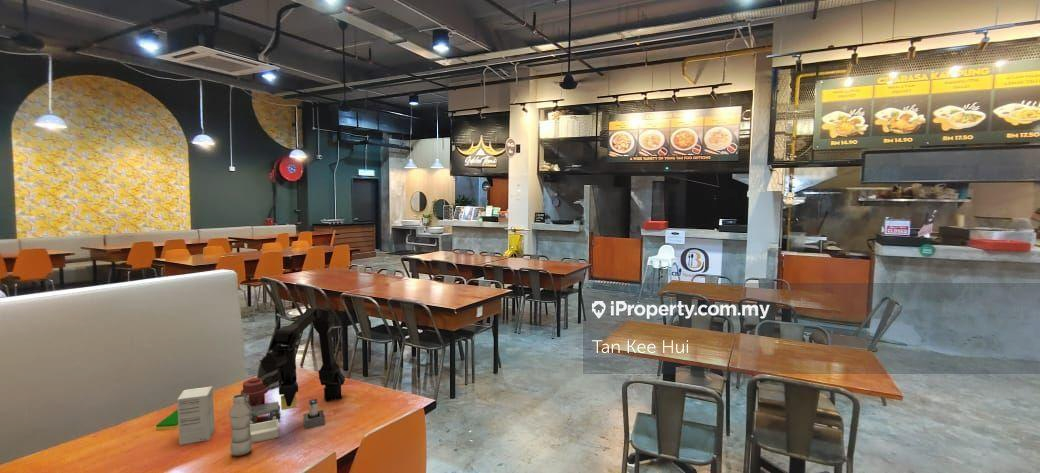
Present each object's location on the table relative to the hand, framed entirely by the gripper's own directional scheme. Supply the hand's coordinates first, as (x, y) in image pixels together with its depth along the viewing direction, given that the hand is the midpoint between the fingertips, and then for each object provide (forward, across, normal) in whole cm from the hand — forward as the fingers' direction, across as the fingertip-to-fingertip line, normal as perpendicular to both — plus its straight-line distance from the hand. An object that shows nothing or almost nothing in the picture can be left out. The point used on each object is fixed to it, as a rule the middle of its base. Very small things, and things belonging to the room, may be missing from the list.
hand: (288, 404), depth 174 cm
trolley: (+11, -16, -9) cm, 21 cm away
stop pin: (+11, -3, +9) cm, 14 cm away
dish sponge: (+11, -31, -39) cm, 51 cm away
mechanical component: (+11, -30, -12) cm, 34 cm away
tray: (+11, -2, -9) cm, 14 cm away
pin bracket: (+10, -3, +9) cm, 14 cm away
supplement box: (+11, -12, -30) cm, 34 cm away
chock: (+1, 0, 0) cm, 1 cm away
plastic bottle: (+11, +9, -15) cm, 21 cm away
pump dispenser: (+11, -54, -7) cm, 55 cm away
